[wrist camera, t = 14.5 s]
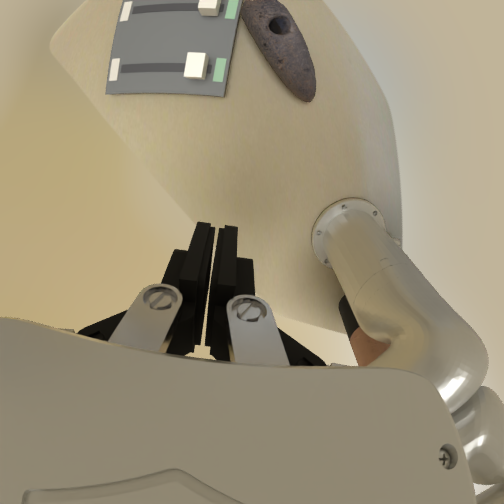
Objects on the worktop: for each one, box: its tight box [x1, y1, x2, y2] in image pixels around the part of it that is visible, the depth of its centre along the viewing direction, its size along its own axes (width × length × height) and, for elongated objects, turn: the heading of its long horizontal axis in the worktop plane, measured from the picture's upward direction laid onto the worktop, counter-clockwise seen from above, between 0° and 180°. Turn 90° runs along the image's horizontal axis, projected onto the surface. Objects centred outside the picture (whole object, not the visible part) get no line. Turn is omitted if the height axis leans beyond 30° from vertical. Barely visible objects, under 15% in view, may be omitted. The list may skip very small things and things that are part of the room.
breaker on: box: [184, 52, 209, 80], centre depth 25 cm, size 2×3×3 cm, turn 171°
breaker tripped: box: [198, 0, 221, 16], centre depth 21 cm, size 2×3×3 cm, turn 171°
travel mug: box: [339, 295, 390, 366], centre depth 41 cm, size 8×8×20 cm
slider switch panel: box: [106, 0, 243, 97], centre depth 25 cm, size 16×16×2 cm
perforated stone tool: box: [241, 0, 316, 102], centre depth 25 cm, size 15×5×7 cm, turn 25°
